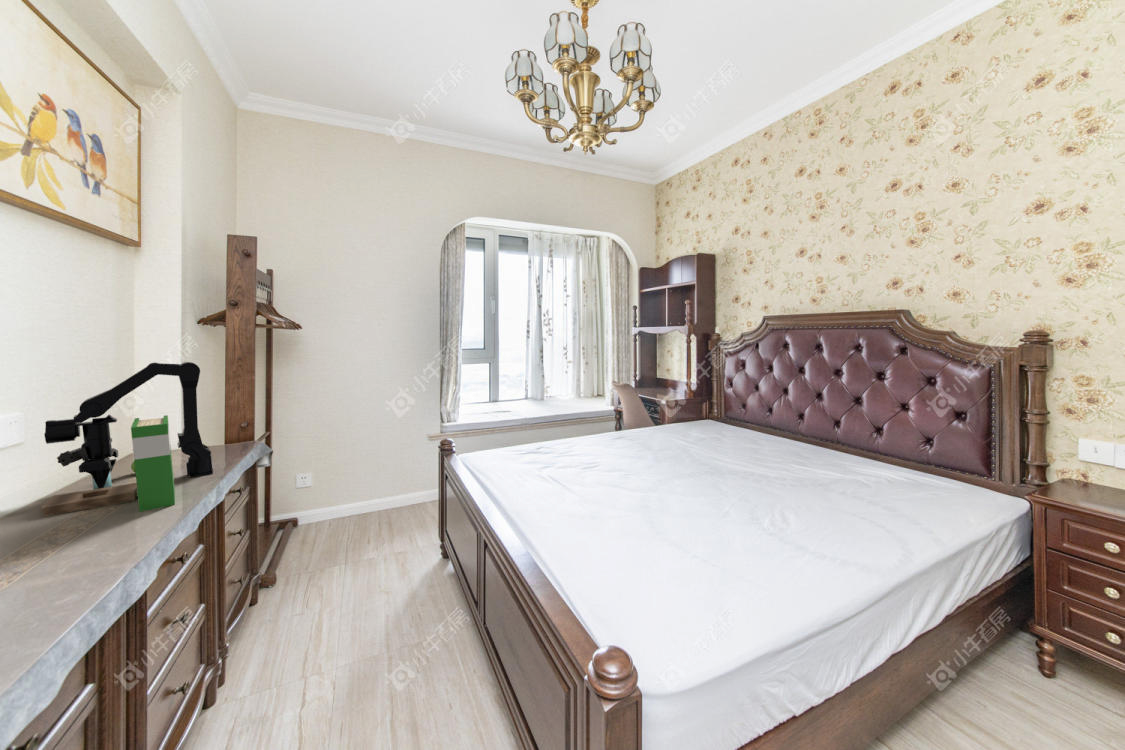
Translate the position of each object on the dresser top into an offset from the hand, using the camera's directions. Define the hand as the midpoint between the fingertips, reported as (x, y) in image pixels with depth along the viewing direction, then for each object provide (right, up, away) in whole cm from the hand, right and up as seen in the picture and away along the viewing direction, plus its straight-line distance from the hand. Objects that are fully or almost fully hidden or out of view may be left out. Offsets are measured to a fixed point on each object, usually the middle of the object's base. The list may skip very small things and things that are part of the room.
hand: (102, 486), depth 137 cm
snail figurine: (-4, 0, +18) cm, 18 cm away
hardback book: (+24, -2, -7) cm, 25 cm away
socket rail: (+8, -2, -9) cm, 12 cm away
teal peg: (0, -2, 0) cm, 2 cm away
